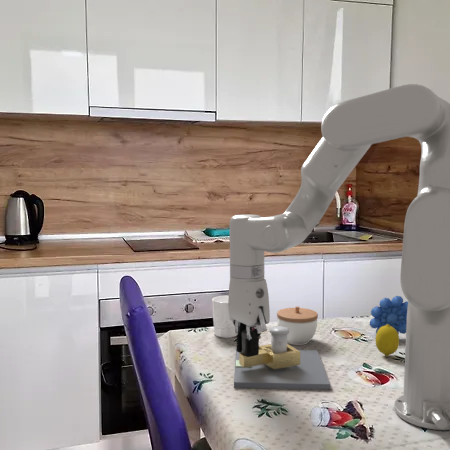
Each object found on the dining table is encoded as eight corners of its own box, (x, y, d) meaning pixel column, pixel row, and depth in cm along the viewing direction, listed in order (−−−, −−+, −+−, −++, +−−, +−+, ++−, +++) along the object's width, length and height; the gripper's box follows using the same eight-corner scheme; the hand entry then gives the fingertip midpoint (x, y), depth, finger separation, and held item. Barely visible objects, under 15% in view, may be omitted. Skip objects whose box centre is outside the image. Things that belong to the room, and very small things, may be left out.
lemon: (380, 350, 130) (381, 319, 129) (401, 355, 127) (403, 324, 126) (371, 356, 126) (372, 325, 125) (393, 362, 122) (394, 329, 122)
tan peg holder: (248, 373, 110) (248, 337, 110) (235, 362, 117) (235, 328, 116) (300, 364, 116) (300, 330, 115) (284, 354, 122) (285, 321, 121)
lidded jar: (284, 349, 131) (284, 313, 130) (271, 336, 141) (272, 302, 140) (323, 346, 133) (324, 311, 132) (308, 333, 143) (309, 300, 142)
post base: (329, 389, 107) (330, 345, 106) (233, 387, 108) (234, 343, 107) (316, 354, 127) (317, 317, 126) (236, 353, 128) (236, 315, 127)
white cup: (243, 330, 146) (243, 296, 145) (237, 339, 138) (237, 303, 137) (216, 328, 148) (216, 294, 147) (209, 337, 140) (209, 301, 139)
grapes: (413, 336, 141) (415, 293, 140) (414, 344, 135) (416, 299, 134) (369, 331, 145) (371, 290, 144) (368, 339, 139) (370, 295, 137)
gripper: (284, 275, 107) (283, 361, 109) (240, 264, 121) (241, 340, 123) (254, 280, 103) (254, 368, 105) (213, 267, 117) (214, 346, 119)
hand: (247, 352), depth 114 cm, fingers closed on tan peg holder, 2 cm apart
